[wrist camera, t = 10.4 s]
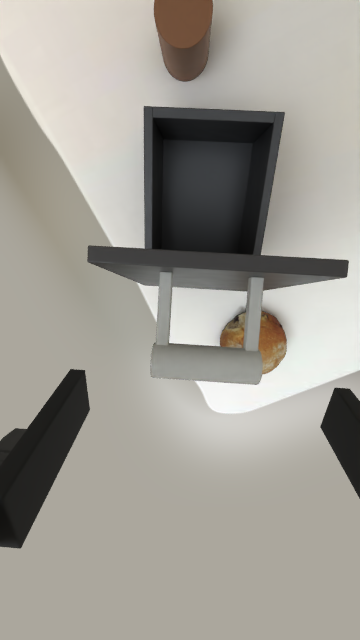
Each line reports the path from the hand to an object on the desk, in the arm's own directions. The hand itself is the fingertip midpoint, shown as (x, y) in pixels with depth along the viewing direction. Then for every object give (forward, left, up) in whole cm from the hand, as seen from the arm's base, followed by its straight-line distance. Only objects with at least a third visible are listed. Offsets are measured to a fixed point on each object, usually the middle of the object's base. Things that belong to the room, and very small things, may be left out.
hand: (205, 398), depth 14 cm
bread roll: (+11, +8, -27) cm, 30 cm away
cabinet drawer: (-5, +1, -9) cm, 10 cm away
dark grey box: (-9, +1, -27) cm, 28 cm away
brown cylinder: (-25, 0, -27) cm, 36 cm away
